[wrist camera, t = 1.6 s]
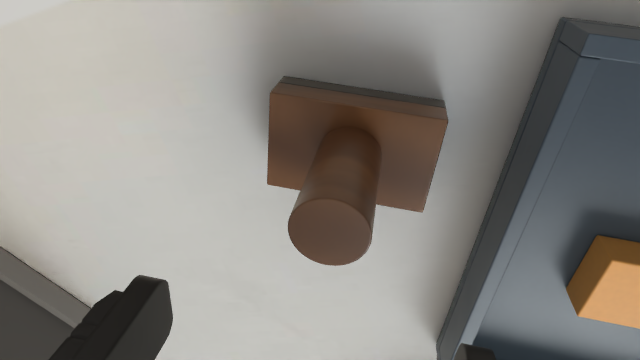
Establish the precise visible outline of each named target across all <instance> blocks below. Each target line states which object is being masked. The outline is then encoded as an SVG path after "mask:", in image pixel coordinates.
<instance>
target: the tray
mask: <svg viewBox="0 0 640 360" xmlns="http://www.w3.org/2000/svg"><path fill="white" fill-rule="evenodd" d="M597 235H600V236H605V237H611V238H616V239H622V240H628V241H633V242H639V243H640V27H636V26H628V25H620V24H612V23H605V22H597V21H589V20H581V19H573V18H565V17H562V18H561V19H560V21H559V23H558V26H557V29H556V31H555V34H554V37H553V39H552V42H551V44H550V47H549V50H548V52H547V55H546V58H545V60H544V63H543V65H542V68H541V71H540V73H539V76H538V79H537V81H536V84H535V87H534V89H533V92H532V94H531V97H530V100H529V102H528V105H527V108H526V110H525V113H524V115H523V118H522V121H521V123H520V126H519V129H518V131H517V134H516V136H515V139H514V142H513V144H512V147H511V150H510V152H509V155H508V157H507V160H506V163H505V165H504V168H503V171H502V173H501V176H500V178H499V181H498V184H497V186H496V189H495V192H494V194H493V197H492V199H491V202H490V205H489V207H488V210H487V213H486V215H485V218H484V221H483V223H482V226H481V228H480V231H479V234H478V236H477V239H476V242H475V244H474V247H473V249H472V252H471V255H470V257H469V260H468V263H467V265H466V268H465V270H464V273H463V276H462V278H461V281H460V284H459V286H458V289H457V291H456V294H455V297H454V299H453V302H452V305H451V307H450V310H449V312H448V315H447V318H446V320H445V323H444V326H443V328H442V331H441V333H440V336H439V339H438V341H437V344H436V349H437V360H453V359H454V357H455V354H456V352H457V349H458V347H459V345H460V344H461V343H464V344H469V345H474V346H479V347H484V348H488V349H492V350H493V352H494V354H495V358H496V360H640V329H639V328H634V327H629V326H624V325H619V324H614V323H609V322H604V321H599V320H594V319H589V318H584V317H579V316H577V314H576V312H575V310H574V307H573V305H572V303H571V300H570V298H569V296H568V294H567V291H566V288H567V286H568V284H569V282H570V281H571V279H572V277H573V275H574V274H575V272H576V270H577V269H578V267H579V265H580V263H581V262H582V260H583V258H584V256H585V255H586V253H587V251H588V249H589V248H590V246H591V244H592V243H593V241H594V239H595V237H596V236H597Z"/></svg>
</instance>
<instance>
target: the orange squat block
mask: <svg viewBox="0 0 640 360" xmlns="http://www.w3.org/2000/svg"><path fill="white" fill-rule="evenodd" d="M566 291H567V294H568V296H569V298H570V300H571V303H572V305H573V307H574V310H575V312H576V314H577V316H579V317H584V318H589V319H594V320H599V321H604V322H609V323H614V324H619V325H624V326H629V327H634V328H639V329H640V243H639V242H633V241H628V240H622V239H616V238H611V237H605V236H600V235H597V236H596V237H595V239H594V241H593V243H592V244H591V246H590V248H589V249H588V251H587V253H586V255H585V256H584V258H583V260H582V262H581V263H580V265H579V267H578V269H577V270H576V272H575V274H574V275H573V277H572V279H571V281H570V282H569V284H568V286H567V288H566Z"/></svg>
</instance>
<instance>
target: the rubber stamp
mask: <svg viewBox="0 0 640 360" xmlns="http://www.w3.org/2000/svg"><path fill="white" fill-rule="evenodd" d="M447 124H448V117H447V112H446V107H445V102H444V101H443V100H437V99H430V98H424V97H417V96H410V95H404V94H397V93H391V92H384V91H378V90H371V89H364V88H358V87H351V86H345V85H338V84H332V83H325V82H319V81H312V80H305V79H299V78H292V77H286V76H284V77H283V78H282V79H281V80H280V81H279V83H278V84H277V85H276V86H275V87H274V89H273V90H272V91H271V92H270V106H269V140H268V173H267V184H268V185H273V186H279V187H284V188H290V189H295V190H301V191H300V193H299V196H298V198H297V201H296V203H295V205H294V208H293V210H292V213H291V215H290V218H289V221H288V232H289V236H290V239H291V241H292V243H293V244H294V246H295V247H296V248H297V250H298V251H299V252H301V253H302V254H303V255H304V256H306V257H307V258H309V259H311V260H313V261H315V262H318V263H321V264H325V265H335V266H336V265H345V264H349V263H352V262H354V261H356V260H358V259H359V258H360V257H362V256H363V255H364V254H365V253H366V251H367V250H368V248H369V246H370V244H371V240H372V232H373V224H374V216H375V207H376V204H378V205H383V206H389V207H394V208H400V209H405V210H411V211H416V212H423V210H424V206H425V203H426V199H427V196H428V192H429V188H430V185H431V181H432V178H433V174H434V171H435V167H436V163H437V160H438V156H439V153H440V149H441V145H442V142H443V138H444V135H445V131H446V128H447Z"/></svg>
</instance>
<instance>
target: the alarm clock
mask: <svg viewBox="0 0 640 360" xmlns="http://www.w3.org/2000/svg"><path fill="white" fill-rule="evenodd" d="M90 310H91V309H90V308H89V307H87V306H86V305H84V304H83V303H82V302H80V301H79V300H77V299H76V298H74V297H73V296H71V295H70V294H68V293H67V292H65V291H64V290H62V289H61V288H60V287H58V286H57V285H55V284H54V283H52V282H51V281H49V280H48V279H46V278H45V277H43V276H42V275H40V274H39V273H37V272H36V271H35V270H33V269H32V268H30V267H29V266H27V265H26V264H24V263H23V262H21V261H20V260H18V259H17V258H15V257H14V256H13V255H11V254H10V253H8V252H7V251H5V250H4V249H2V248H1V247H0V360H49V358H50V357H51V356H52V355H53V354H54V352H55V351H56V350H57V349H58V348H59V346H60V345H61V344H62V343H63V342H64V341H65V339H66V338H67V337H70V335H71V332H72V331H73V330H74V329H75V327H76V326H77V325H78V324H79V323H81V322H82V319H83V318H84V317H85V316H86V314H87V313H88V312H89V311H90Z"/></svg>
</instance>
